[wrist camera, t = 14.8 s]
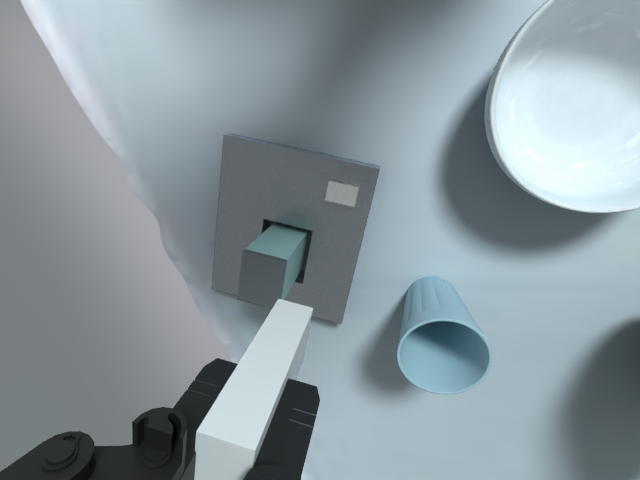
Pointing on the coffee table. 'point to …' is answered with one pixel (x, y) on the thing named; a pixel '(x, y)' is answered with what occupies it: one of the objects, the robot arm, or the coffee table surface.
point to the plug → (271, 265)
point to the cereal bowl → (571, 105)
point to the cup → (441, 340)
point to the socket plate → (294, 216)
